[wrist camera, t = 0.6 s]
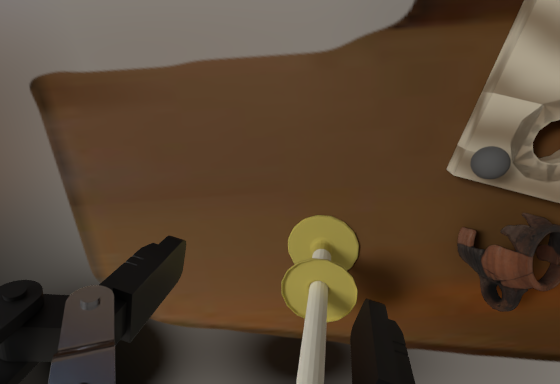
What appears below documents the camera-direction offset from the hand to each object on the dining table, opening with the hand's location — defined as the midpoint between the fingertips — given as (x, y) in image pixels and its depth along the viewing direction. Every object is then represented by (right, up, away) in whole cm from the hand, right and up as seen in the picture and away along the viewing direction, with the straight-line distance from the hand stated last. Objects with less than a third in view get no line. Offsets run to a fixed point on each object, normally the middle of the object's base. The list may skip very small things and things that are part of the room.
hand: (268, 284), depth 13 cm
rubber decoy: (+22, +7, +18) cm, 29 cm away
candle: (+7, -4, +30) cm, 31 cm away
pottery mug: (+28, -3, +25) cm, 38 cm away
